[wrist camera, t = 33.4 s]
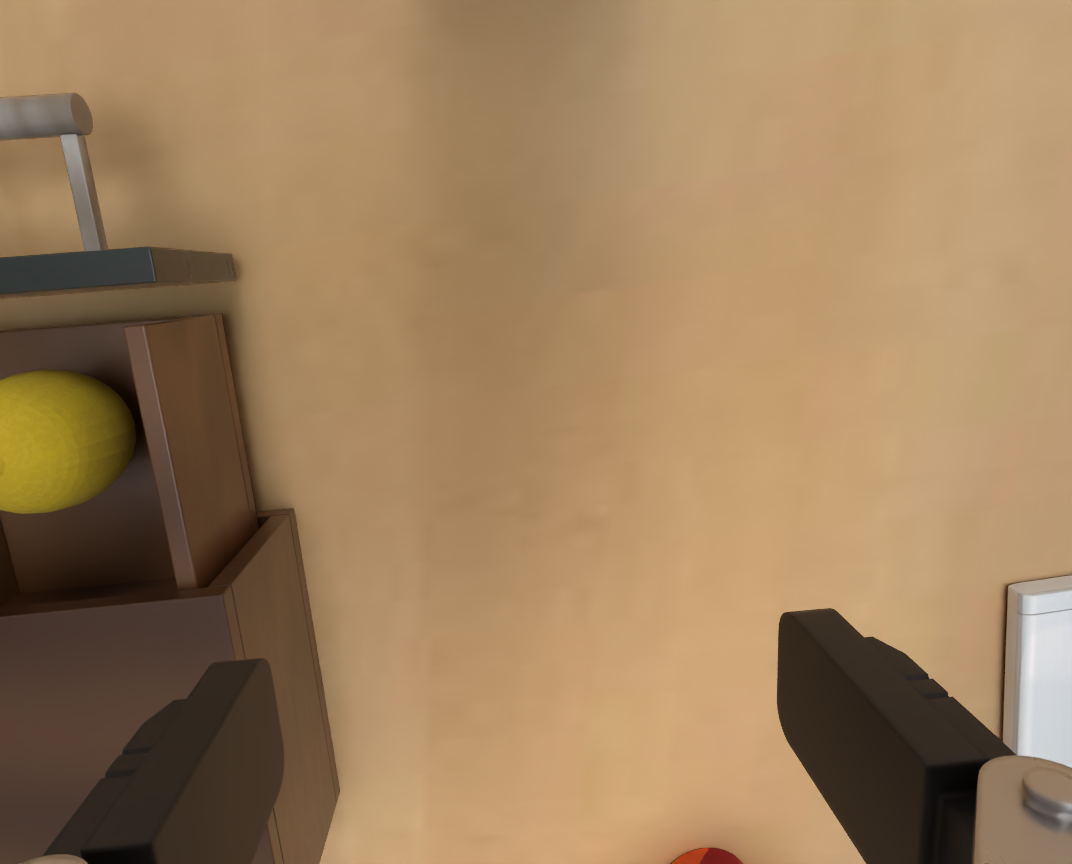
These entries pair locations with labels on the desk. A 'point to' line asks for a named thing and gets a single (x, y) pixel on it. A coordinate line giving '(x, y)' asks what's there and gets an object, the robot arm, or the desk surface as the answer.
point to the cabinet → (160, 691)
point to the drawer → (148, 391)
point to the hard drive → (1039, 670)
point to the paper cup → (707, 857)
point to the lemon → (60, 440)
